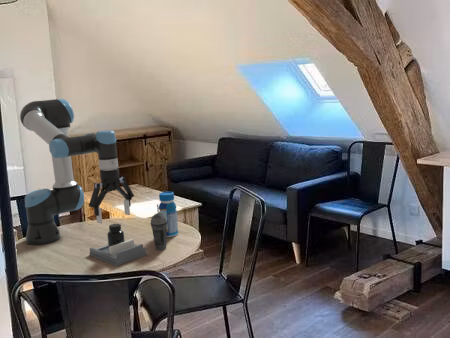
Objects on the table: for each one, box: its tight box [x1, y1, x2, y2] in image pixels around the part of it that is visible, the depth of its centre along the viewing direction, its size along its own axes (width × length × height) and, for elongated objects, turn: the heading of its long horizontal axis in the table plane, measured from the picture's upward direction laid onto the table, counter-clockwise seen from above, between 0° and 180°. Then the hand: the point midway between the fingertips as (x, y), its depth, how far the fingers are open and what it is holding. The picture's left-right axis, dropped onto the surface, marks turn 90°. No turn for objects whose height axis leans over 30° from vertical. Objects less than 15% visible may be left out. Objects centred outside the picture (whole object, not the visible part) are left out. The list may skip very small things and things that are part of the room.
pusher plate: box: [109, 238, 135, 257], centre depth 202 cm, size 1×11×5 cm, turn 136°
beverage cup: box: [150, 203, 168, 251], centre depth 208 cm, size 7×7×20 cm
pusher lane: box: [89, 243, 147, 267], centre depth 204 cm, size 20×15×5 cm
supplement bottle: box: [106, 223, 126, 248], centre depth 204 cm, size 7×7×12 cm
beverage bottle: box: [158, 191, 179, 238], centre depth 225 cm, size 8×8×20 cm
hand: (113, 218), depth 202 cm, fingers open, 13 cm apart
